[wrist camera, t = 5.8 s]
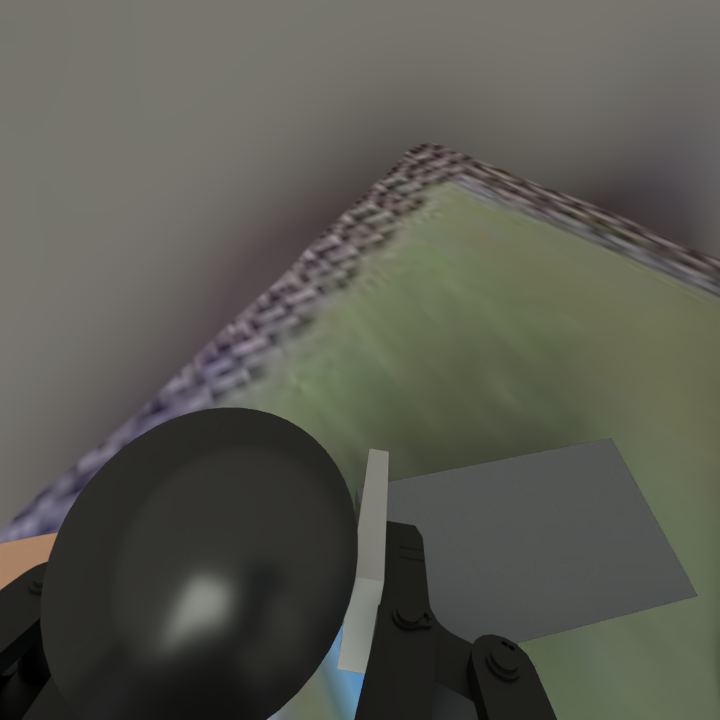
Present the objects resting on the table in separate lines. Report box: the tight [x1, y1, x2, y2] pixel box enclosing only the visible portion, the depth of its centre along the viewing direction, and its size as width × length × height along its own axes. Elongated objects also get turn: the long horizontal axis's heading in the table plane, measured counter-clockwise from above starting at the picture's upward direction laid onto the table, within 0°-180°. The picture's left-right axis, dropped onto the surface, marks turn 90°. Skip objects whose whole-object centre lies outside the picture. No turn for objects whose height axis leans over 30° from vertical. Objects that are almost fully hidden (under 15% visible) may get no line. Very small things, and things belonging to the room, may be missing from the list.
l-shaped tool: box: [40, 408, 358, 720], centre depth 12 cm, size 20×4×18 cm, turn 101°
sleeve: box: [353, 438, 698, 644], centre depth 19 cm, size 12×7×7 cm, turn 101°
